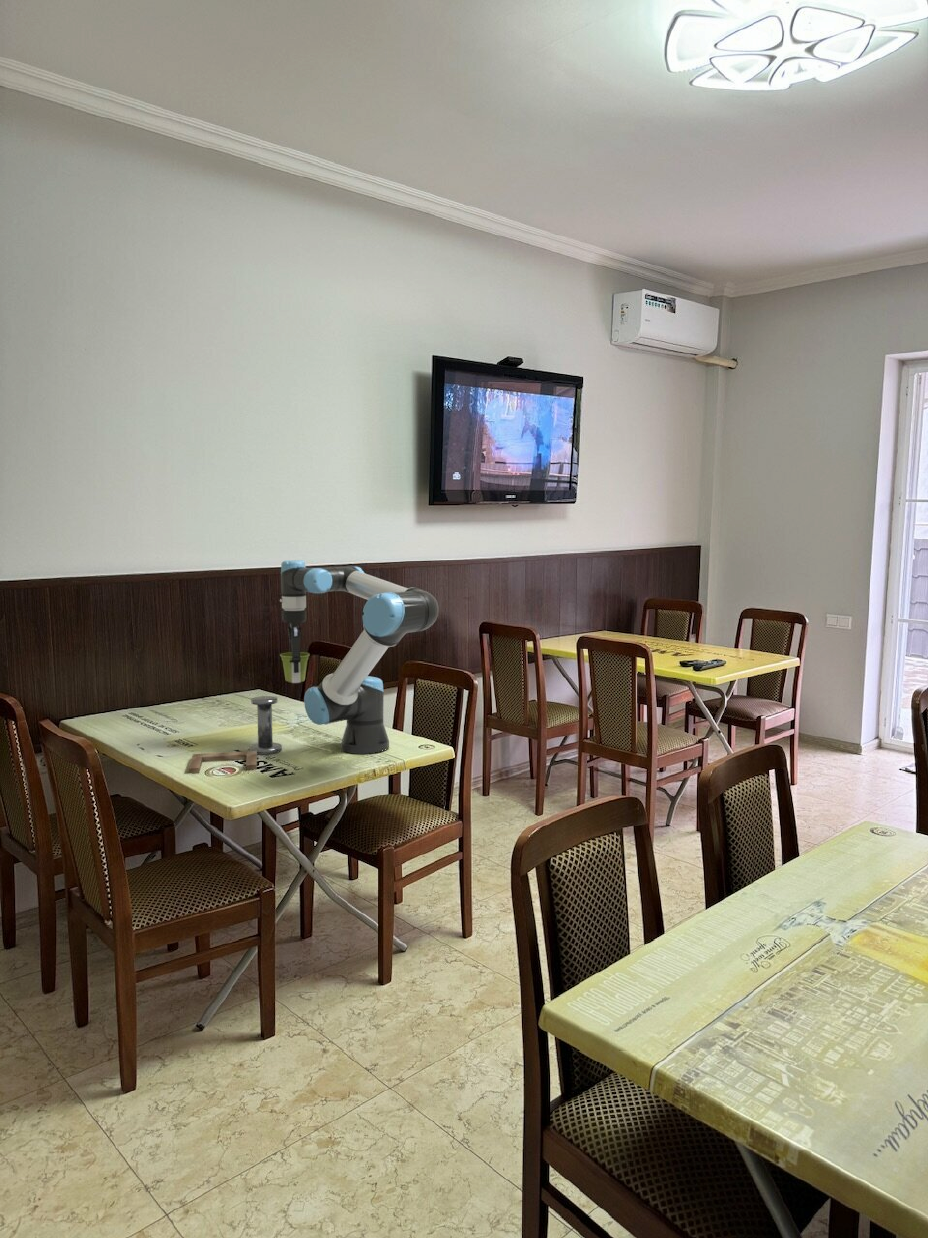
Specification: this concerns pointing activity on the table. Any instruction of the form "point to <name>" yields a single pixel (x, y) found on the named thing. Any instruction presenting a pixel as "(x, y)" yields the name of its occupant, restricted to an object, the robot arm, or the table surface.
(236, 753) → the notched board
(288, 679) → the plant pot
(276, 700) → the spool
